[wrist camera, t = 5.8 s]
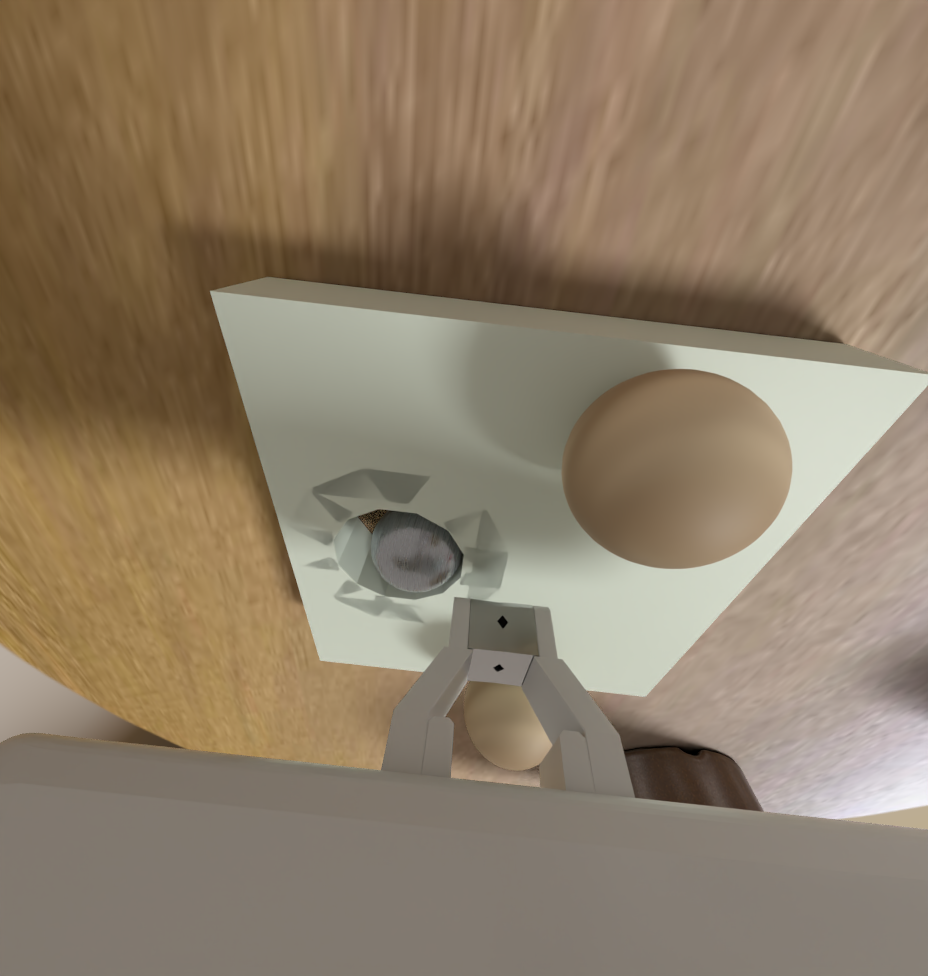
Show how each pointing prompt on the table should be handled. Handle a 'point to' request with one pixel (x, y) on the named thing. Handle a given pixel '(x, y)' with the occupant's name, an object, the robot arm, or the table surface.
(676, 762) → the plant pot
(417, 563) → the steel ball
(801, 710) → the table surface
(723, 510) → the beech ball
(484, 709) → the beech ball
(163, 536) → the table surface
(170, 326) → the table surface
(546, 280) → the table surface
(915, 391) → the board
